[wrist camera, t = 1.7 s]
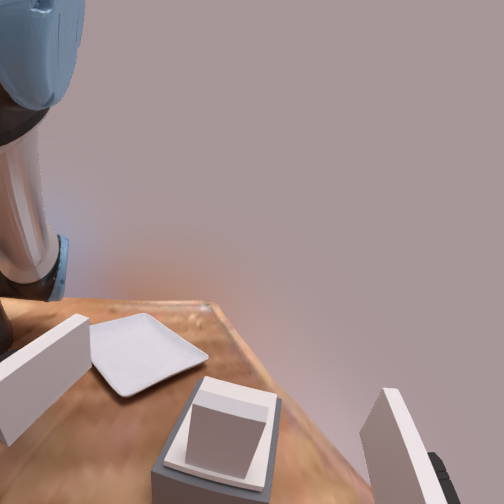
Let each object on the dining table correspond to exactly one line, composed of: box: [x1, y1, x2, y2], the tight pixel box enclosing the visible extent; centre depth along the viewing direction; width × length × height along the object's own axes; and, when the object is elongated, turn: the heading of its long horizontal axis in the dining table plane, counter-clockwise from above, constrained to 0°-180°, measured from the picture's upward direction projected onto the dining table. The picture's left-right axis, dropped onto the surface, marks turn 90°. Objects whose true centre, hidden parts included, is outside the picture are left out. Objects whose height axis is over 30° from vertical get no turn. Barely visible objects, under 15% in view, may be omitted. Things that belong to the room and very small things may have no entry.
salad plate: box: [90, 313, 209, 397], centre depth 54 cm, size 21×21×3 cm
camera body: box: [151, 378, 282, 504], centre depth 34 cm, size 20×12×9 cm, turn 172°
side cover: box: [164, 376, 277, 492], centre depth 30 cm, size 16×10×10 cm, turn 172°
